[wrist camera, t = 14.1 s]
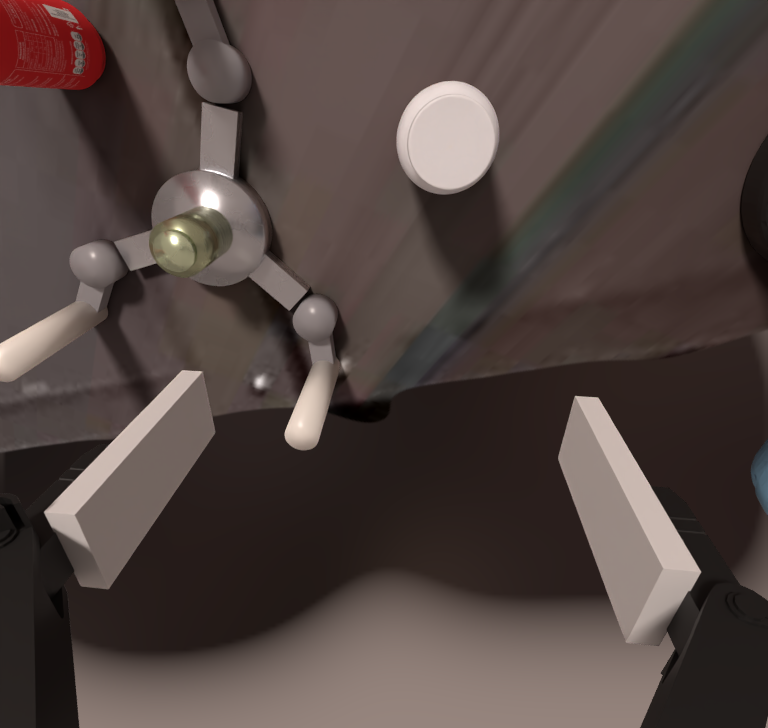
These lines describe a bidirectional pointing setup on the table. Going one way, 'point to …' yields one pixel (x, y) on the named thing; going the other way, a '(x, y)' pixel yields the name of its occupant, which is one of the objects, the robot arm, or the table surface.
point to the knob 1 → (67, 310)
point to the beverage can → (48, 46)
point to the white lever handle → (213, 55)
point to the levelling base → (232, 205)
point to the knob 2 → (314, 370)
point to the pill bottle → (447, 137)
